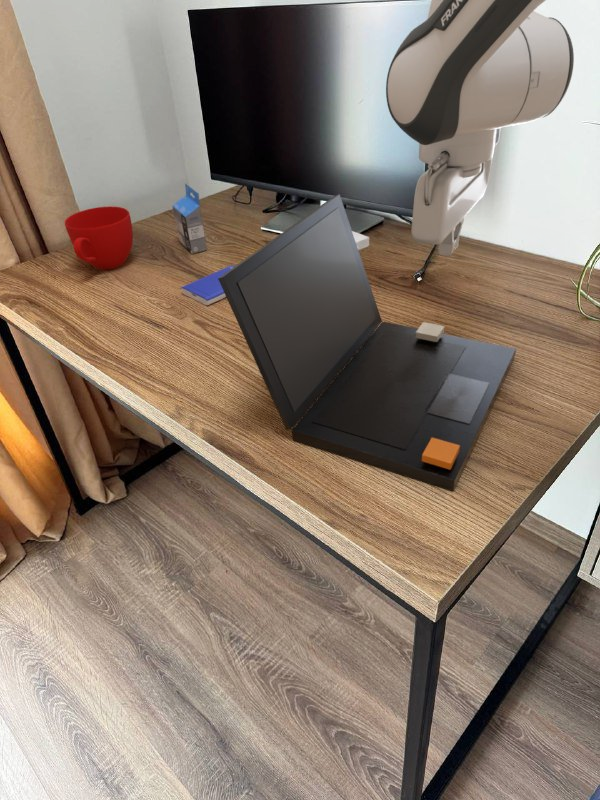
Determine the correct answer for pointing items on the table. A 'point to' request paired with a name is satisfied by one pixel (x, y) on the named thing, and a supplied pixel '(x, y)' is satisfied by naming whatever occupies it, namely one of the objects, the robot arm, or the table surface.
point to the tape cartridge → (190, 222)
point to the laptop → (408, 402)
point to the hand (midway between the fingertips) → (448, 251)
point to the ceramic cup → (101, 236)
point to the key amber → (440, 453)
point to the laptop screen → (303, 307)
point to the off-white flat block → (429, 332)
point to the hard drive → (206, 288)
